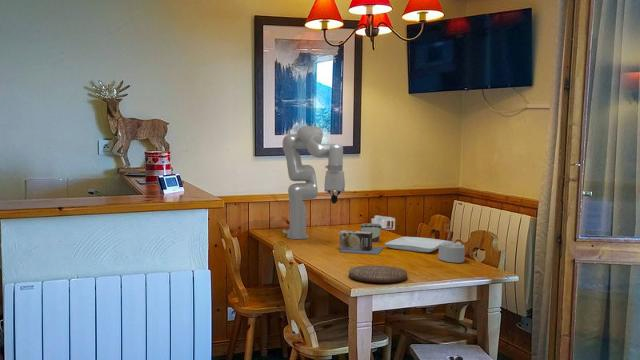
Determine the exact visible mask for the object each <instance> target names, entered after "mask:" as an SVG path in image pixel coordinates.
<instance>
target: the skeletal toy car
mask: <svg viewBox="0 0 640 360" xmlns="http://www.w3.org/2000/svg"><path fill="white" fill-rule="evenodd" d="M370 221H371V222H370V223H371V224H380V225H381V226H382V229H381V230H385V231H386V230H389V228H390V230H394V231H395V230H396V218H395V217H391V216H385V215H383V216H382V215H379V214H378V215H374V218H371V220H370ZM388 222H390V223H389V226H388ZM392 222H393V227H392Z"/></svg>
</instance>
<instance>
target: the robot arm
mask: <svg viewBox="0 0 640 360" xmlns="http://www.w3.org/2000/svg"><path fill="white" fill-rule="evenodd" d="M323 135H324V131H323V130H322V128H321V127H319V126H308V125H307V126H305V125H304V126H301V127H300V128H298V130H297V133H292V134H287V135H285V136H284V137H283V140H282V150H283V153H284V155H285V159H286V165H287V173H288V178H289V180H290V181H292V182H294V183H292V184H290V185H289V187H288V189H287V191H288V192H287V194H288V202H289V226H288V227H289V229H288V230H287V229H282V234H285V235H286V234H287V235H286V238H287V239H291V240H304V239H305V240H306V239H308V238H309V235H308V234H307V232H306V231H307V228H306V227H307V226H306V225H307V206H306V204H305V202H304V200H314V199H316V198H317V197H318V193H319V191H318V184H317V183H318V182H317V176H316V171H315V168H314V167H313V166H312V165H310V164H303V162H302V157H301V155H300V153H299V152H298V151H297V150H301V149H302V150H307V152H308V153H309V154H310V155H311V156H313V157H315V158H317V159H320V158H321V159H323V158H325V159H327V158H328V159H327V161H328V162H327V163H328V164H327V165H325V169H327V170H326V172H325V176H324V184H323V185H324V190H323V191H324V192H326V193H329V195H330V196H331V197H330V199H331V200H330V202H331V204H337V202H338V196H339V195H340V194H342V193H345V185H346V184H345V181H346V180H345V179H346V178H345V171H343V167H344V166H343V162H344V161H343V159H344V146H343V145H342V144H335V143H322V142H323V137H324V136H323ZM295 182H296V183H295ZM334 191H335V192H334Z"/></svg>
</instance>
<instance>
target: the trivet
mask: <svg viewBox="0 0 640 360" xmlns="http://www.w3.org/2000/svg"><path fill="white" fill-rule="evenodd" d="M348 277H350V278H351V279H353V280H355V281H359V282H366V283H375V284H376V283H377V284H380V283H381V284H387V283H388V284H390V283H397V282H402V281H405V280H407V279H408V271H407V270H405V269H402V268H399V267H395V266H389V265H375V264H374V265H361V266H360V265H359V266H355V267H354V266H353V267H351V268H350V269H348Z"/></svg>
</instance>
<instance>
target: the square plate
mask: <svg viewBox="0 0 640 360" xmlns="http://www.w3.org/2000/svg"><path fill="white" fill-rule="evenodd" d="M446 241H447V242H448V241H449V240H444V239H437V238H430V237H421V236H420V237H418V236H416V237H415V236H402V237H398V238H395V239H393V240H389V241H387V242H385V243H384V245H385V246H386V247H387V248H390V249H394V250H399V251H400V250H401V251H408V252H414V253H415V252H416V253H431V252H434V251H436V250H439V244H441V243H443V242H446Z"/></svg>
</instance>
